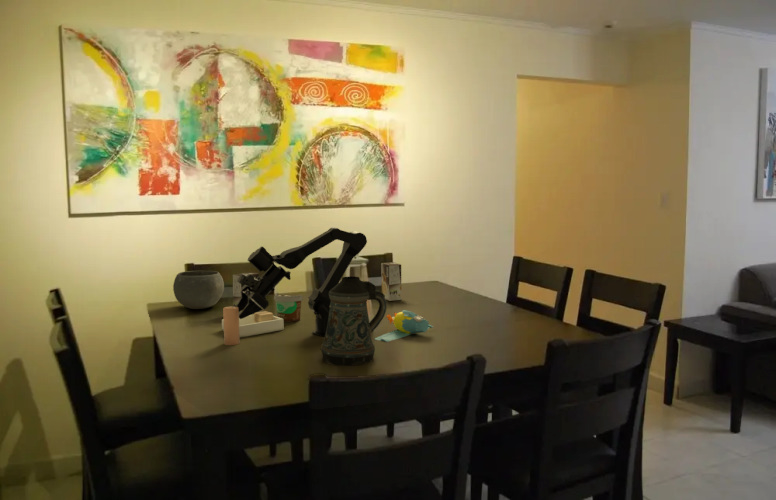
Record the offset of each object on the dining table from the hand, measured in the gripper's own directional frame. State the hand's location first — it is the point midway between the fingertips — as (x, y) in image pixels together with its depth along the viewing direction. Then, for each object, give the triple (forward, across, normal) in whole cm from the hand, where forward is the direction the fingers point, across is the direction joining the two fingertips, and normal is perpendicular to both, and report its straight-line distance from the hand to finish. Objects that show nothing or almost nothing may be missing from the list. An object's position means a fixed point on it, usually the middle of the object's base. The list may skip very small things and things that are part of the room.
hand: (237, 315), depth 214 cm
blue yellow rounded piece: (-34, +12, +48) cm, 60 cm away
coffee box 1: (-2, -46, +15) cm, 48 cm away
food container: (-10, -26, +23) cm, 36 cm away
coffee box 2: (-49, -49, +61) cm, 92 cm away
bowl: (+10, -63, +4) cm, 64 cm away
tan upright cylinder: (+8, 0, +5) cm, 10 cm away
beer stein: (-14, +32, +27) cm, 44 cm away
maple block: (-3, -17, +15) cm, 22 cm away
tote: (+1, -15, +12) cm, 20 cm away
